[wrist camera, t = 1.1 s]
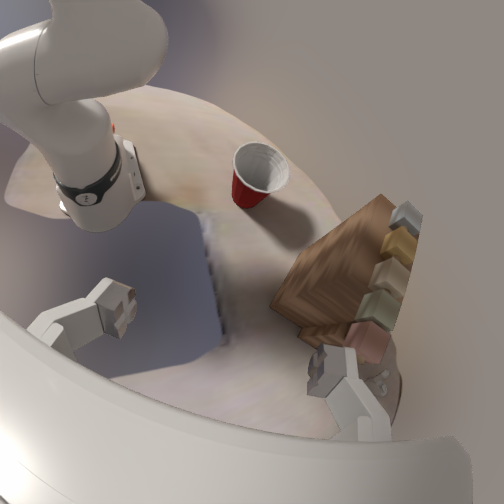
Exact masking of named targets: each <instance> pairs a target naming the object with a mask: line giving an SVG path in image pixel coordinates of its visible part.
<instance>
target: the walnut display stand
mask: <svg viewBox="0 0 504 504" xmlns="http://www.w3.org/2000/svg"><path fill="white" fill-rule="evenodd" d="M396 208H397V207H396V206H394V205H393V204H392V203H391V202H390V201H389V200H388V199H387V198H386V197H384V196H383V195H382V194H380V195H378V196H377V197H376V198H375V199H373V200H372V201H371V202H369V203H368V204H367V205H365V206H364V207H363V208H361V209H360V210H359V211H357V212H356V213H355V214H353V215H352V216H351V217H349V218H348V219H347V220H345V221H344V222H342V223H341V224H340V225H338V226H337V227H336V228H334V229H333V230H332V231H330V232H329V233H328V234H326V235H325V236H323V237H322V238H321V239H319V240H318V241H317V242H315V243H314V244H312V245H311V246H310V247H308V248H307V249H305V250H304V251H303V252H301V253H300V254H299V256H298V258H297V259H296V261H295V263H294V265H293V266H292V268H291V270H290V272H289V273H288V275H287V277H286V279H285V280H284V282H283V284H282V286H281V287H280V289H279V291H278V292H277V294H276V296H275V297H274V299H273V301H272V303H271V304H270V306H269V307H271V308H272V309H274V310H275V311H277V312H278V313H280V314H281V315H283V316H284V317H286V318H287V319H289V320H290V321H292V322H293V323H295V324H296V325H298V326H299V327H301V328H302V330H301V332H300V334H299V335H298V338H300V339H301V340H303V341H304V342H306V343H308V344H309V345H311V346H312V347H314V348H316V349H317V350H318V346H319V345H320V343H322V342H323V343H328V344H334V345H339V346H342V345H343V343H344V341H345V339H346V337H347V334H348V332H349V330H350V328H351V326H352V324H354V323H358V322H357V321H356V320H354V319H355V316H356V314H357V312H358V309H359V307H360V304H361V302H362V300H363V297H364V295H365V294H368V293H372V292H373V291H372V290H371V289H370V288H368V284H369V282H370V279H371V276H372V274H373V271H374V268H375V265H376V264H378V263H381V262H383V261H385V259H384V258H383V257H382V256H380V255H379V254H380V251H381V248H382V245H383V242H384V238H385V235H387V234H389V233H390V232H392V231H393V230H391V229H390V228H389V227H388V225H389V222H390V219H391V215H392V212H393V210H394V209H396ZM413 237H414V238H415V239H416V240H417V241H418V238H419V233H418V234H416V235H414V236H413ZM412 265H413V262H412V263H409V264H407V265H404V267H405V268H406V269H407V270H408V271H409V272H410V273H411V268H412ZM403 297H404V296H403ZM403 297H399V298H396V300H397V301H398V302H399V303H400V304H402V301H403Z"/></svg>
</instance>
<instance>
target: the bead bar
mask: <svg viewBox="0 0 504 504" xmlns="http://www.w3.org/2000/svg"><path fill="white" fill-rule="evenodd" d="M422 217H423V215H422V214H421V213H420V212H419V211H418V210H417V209H416V208H415V207H414V206H413V205H412V204H411V203H410V202H409V201H406V202H405V203H403V204H402V205H400V206H399V207H397V208H396V209H394V210H393V212H392V215H391V219H390V222H389V225H388V227H389V228H390V229H391V230H393V231H392V232H390V233H389V234H387V235H385V238H384V242H383V245H382V248H381V251H380V254H379V255H380V256H382V257H383V258H384V259H385V261H383V262H381V263H378V264H376V265H375V268H374V271H373V274H372V276H371V279H370V282H369V284H368V288H370V289H371V290H372V291H373V292H372V293H368V294H365V295H364V297H363V300H362V302H361V304H360V307H359V309H358V312H357V314H356V316H355V319H354V320H356V321H357V322H358V323H354V324H352V326H351V328H350V330H349V332H348V334H347V337H346V339H345V341H344V343H343V345H342V346H343V347H349V348H354V349H355V351H356V359H357V363H358V364H364V363H371V364H380V362H381V360H382V358H383V355H384V353H385V350H386V348H387V345H388V342H389V340H390V337H391V335H390V334H388V333H387V332H388V331H393V329H394V326H395V323H396V320H397V317H398V314H399V311H400V307H401V305H402V304H400V303H399V302H398V301H397V300H396V298H399V297H403V296H404V295H405V292H406V288H407V284H408V281H409V277H410V272H409V271H408V270H407V269H406V268H405V267H404V265H407V264H409V263H412V262H413V261H414V257H415V252H416V248H417V244H418V241H417V240H416V239H415V238H414V237H413V236H414V235H416V234H418V233H420V229H421V223H422Z"/></svg>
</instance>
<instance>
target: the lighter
mask: <svg viewBox="0 0 504 504" xmlns="http://www.w3.org/2000/svg"><path fill="white" fill-rule="evenodd" d="M389 374H390V372H389V371H388V370H387V369H385V370H384V371H382V372H381V373H379V374H378V375H377V376H376V377H375V378H368V379H367V380H366V381H365V382H364V383H365V384H366V386H367V387H368V388H369V390H370V391H371V392H372V394H373V395H374V396H379V397H384V396H385V395H386V394H387V390H388V389H387V387H386V384H384V383H383V381H382V380H383V379H385V378H386V377H387V376H388V375H389Z"/></svg>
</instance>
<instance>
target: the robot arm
mask: <svg viewBox="0 0 504 504" xmlns="http://www.w3.org/2000/svg"><path fill="white" fill-rule="evenodd" d="M49 2H50V4H51V7H52V13H53V19H49V20H46V21H43V22H40V23H37V24H34V25H31V26H28V27H26V28H23V29H20V30H18V31H15V32H13V33H10V34H9V35H7V36H5V37H4V38H2V39H1V40H0V123H2V124H5V125H6V126H8V127H10V128H11V129H13V130H15V131H16V132H18V133H19V134H21V135H22V136H23V137H24V138H26V139H27V140H29V141H30V142H31V143H32V144H33V145H34V146H35V147H36V148H38V150H39V151H40V152H41V153H42V154H43V156H44V158H45V159H46V161H47V162H48V164H49V166H50V167H51V169H52V171H53V175H54V178H55V182H56V184H57V186H56V190H57V193H58V195H59V197H60V199H61V202H60V208H61V210H62V211H63V212H64V213H66V214H68V215H70V216H71V218H72V219H73V220H74V222H75V223H76V225H77V226H79V227H80V228H81V229H83V230H85V231H88V232H93V233H100V232H105V231H108V230H111V229H113V228H115V227H116V226H118V225H119V224H120V223H122V222H123V221H124V220H125V219H126V218H127V216H128V214H129V213H130V212H131V210H132V208H133V207H134V206H135V204H137V203H138V202H140V201H141V200H142V199H143V198H144V197H145V195H146V192H145V188H144V185H143V181H142V178H141V174H140V170H139V166H138V162H137V158H136V154H135V150H134V146H133V143H132V142H130V141H127V140H123V138H122V137H121V136H120V135H117V134H114V131H115V128H114V124H111V118H110V115H109V113H108V112H107V110H106V109H105V107H104V106H103V105H102V104H101V103H100V102H98V101H96V100H94V99H92V98H97V97H105V96H109V95H112V94H116V93H120V92H124V91H127V90H131V89H134V88H138V87H142V86H144V85H145V84H146V83H147V82H149V80H150V79H151V78H152V77H153V76H154V75H155V74H156V73H157V71H158V70H159V68H160V67H161V65H162V63H163V61H164V58H165V56H166V52H167V47H168V33H167V29H166V25H165V23H164V21H163V20H162V18H161V16H160V15H159V14H158V13H157V12H156V11H155V10H154V9H152V8H151V7H149V6H148V5H146V4H145V3H143V2H142V1H141V0H49ZM137 188H140V189H139V190H137ZM135 295H136V293H135V289H134V288H131V287H129V286H126V285H124V284H121V283H119V282H117V281H114V280H111V279H109V278H107V277H106V278H104V279H102V280H101V281H100V283H99V284H98V285H97V286H96V287H95V288H94V289H93V290H92V291H91V293H90V294H89V295H88V296H87V297H86V298H85V299H84V298H81V299H78V300H75V301H72V302H69V303H66V304H64V305H61V306H58V307H55V308H53V309H50V310H48V311H44V312H42V313H41V314H40V315H39V316H38V317H37V318H36V319H35V320H34V321H33V323H32V324H31V325H30V326H29V327H28V328H27V330H25V329H24V328H22V327H21V326H20V325H18V324H17V323H16V322H14V321H13V320H12V319H10V318H9V317H8V316H7V315H6V314H4V313H3V312H2V311H1V310H0V504H473V477H472V465H471V459H470V456H469V454H468V453H467V451H466V450H465V448H464V447H463V446H462V445H461V443H460V442H459V441H458V440H457V439H456V438H455V437H453V436H445V437H438V438H430V439H420V440H407V441H392V435H391V425H390V417H389V415H388V414H387V413H386V411H385V410H384V408H383V407H382V406H381V404H380V403H379V402H378V400H377V399H376V398H375V396H374V395H373V394H372V392H371V391H370V390H369V388H368V387H367V386H366V384H365V383H364V382H363V380H362V379H359V376H358V367H357V359H356V351H355V349H354V348H349V347H343V346H339V345H334V344H328V343H323V342H322V343H320V345H319V346H318V352H317V353H314V354H313V356H312V358H311V360H310V363H309V367H308V375H309V376H310V379H309V381H308V382H307V395H310V396H315V397H321V398H325V401H326V403H327V405H328V407H329V408H330V410H331V412H332V414H333V416H334V418H335V420H336V422H337V424H338V426H339V428H340V430H341V431H340V432H339V433H337V434H336V435H335V436H333V437H332V438H331V439H330V440H325V439H315V438H306V437H298V436H291V435H284V434H278V433H272V432H267V431H262V430H257V429H252V428H247V427H243V426H238V425H234V424H230V423H226V422H222V421H219V420H215V419H211V418H208V417H205V416H201V415H198V414H195V413H192V412H188V411H185V410H182V409H179V408H177V407H174V406H171V405H168V404H165V403H163V402H160V401H157V400H155V399H152V398H150V397H147V396H145V395H142V394H140V393H138V392H135V391H133V390H131V389H128V388H126V387H124V386H122V385H120V384H117V383H115V382H113V381H111V380H109V379H107V378H105V377H103V376H101V375H99V374H97V373H95V372H93V371H91V370H89V369H88V368H85V367H84V366H82V365H80V364H78V363H77V362H78V361H77V358H76V356H75V354H74V352H73V351H74V350H76V349H78V348H79V347H81V346H83V345H85V344H86V343H88V342H90V341H92V340H93V339H95V338H97V337H99V336H101V335H103V334H104V333H106V334H108V335H111V336H113V337H115V338H118V339H120V338H121V336H122V335H123V334H124V332H125V331H126V329H127V328H126V324H128V323H130V322H132V320H133V318H134V316H135V313H136V310H137V303H136V301H135V300H134V297H135Z"/></svg>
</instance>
